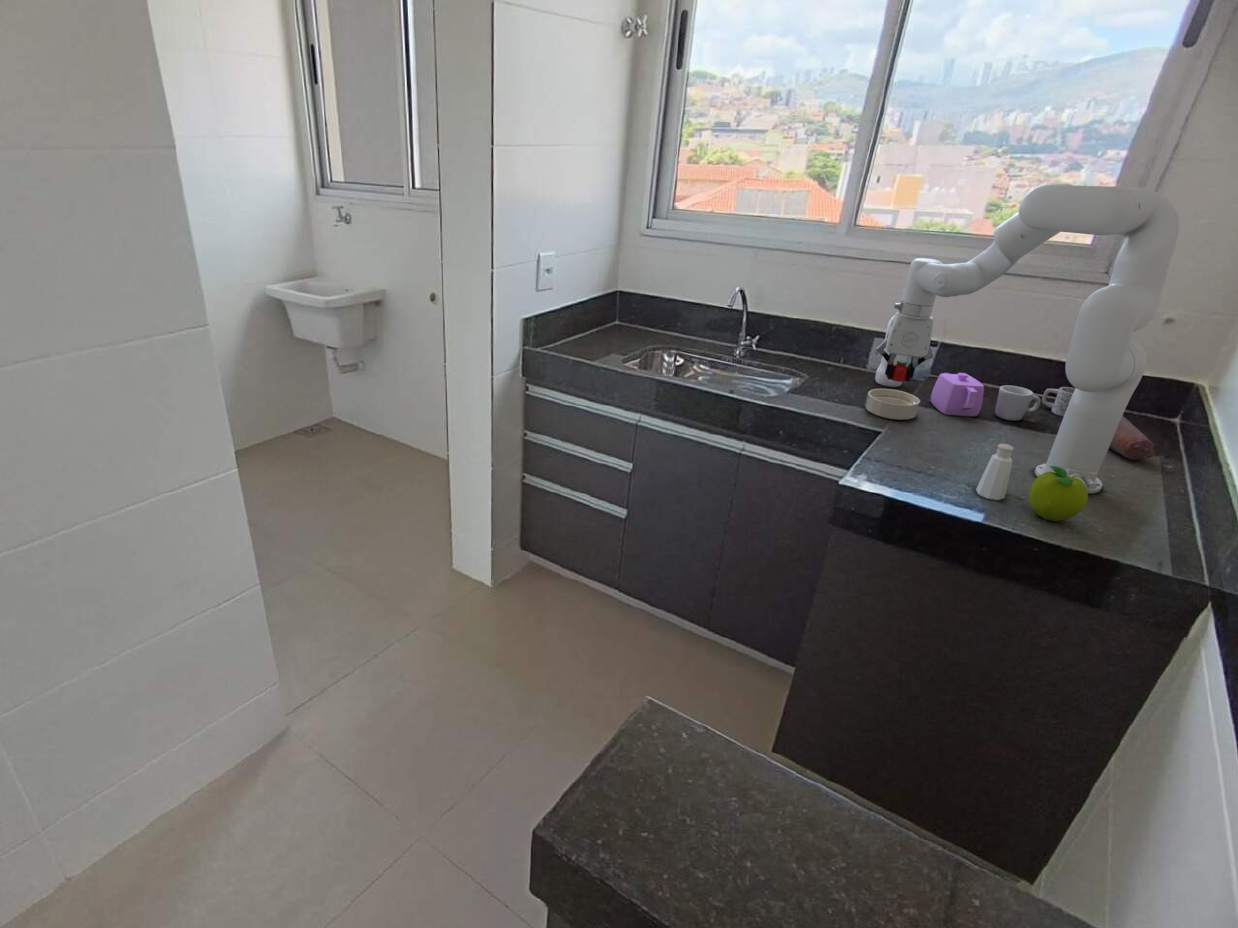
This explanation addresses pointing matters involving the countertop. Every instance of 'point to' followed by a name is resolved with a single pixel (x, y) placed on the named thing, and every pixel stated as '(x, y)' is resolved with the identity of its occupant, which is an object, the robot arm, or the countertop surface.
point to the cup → (1014, 402)
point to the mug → (1059, 399)
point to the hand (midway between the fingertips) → (897, 378)
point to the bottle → (880, 372)
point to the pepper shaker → (996, 474)
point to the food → (1131, 442)
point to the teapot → (957, 394)
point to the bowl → (892, 404)
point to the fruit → (1057, 495)
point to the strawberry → (900, 371)
